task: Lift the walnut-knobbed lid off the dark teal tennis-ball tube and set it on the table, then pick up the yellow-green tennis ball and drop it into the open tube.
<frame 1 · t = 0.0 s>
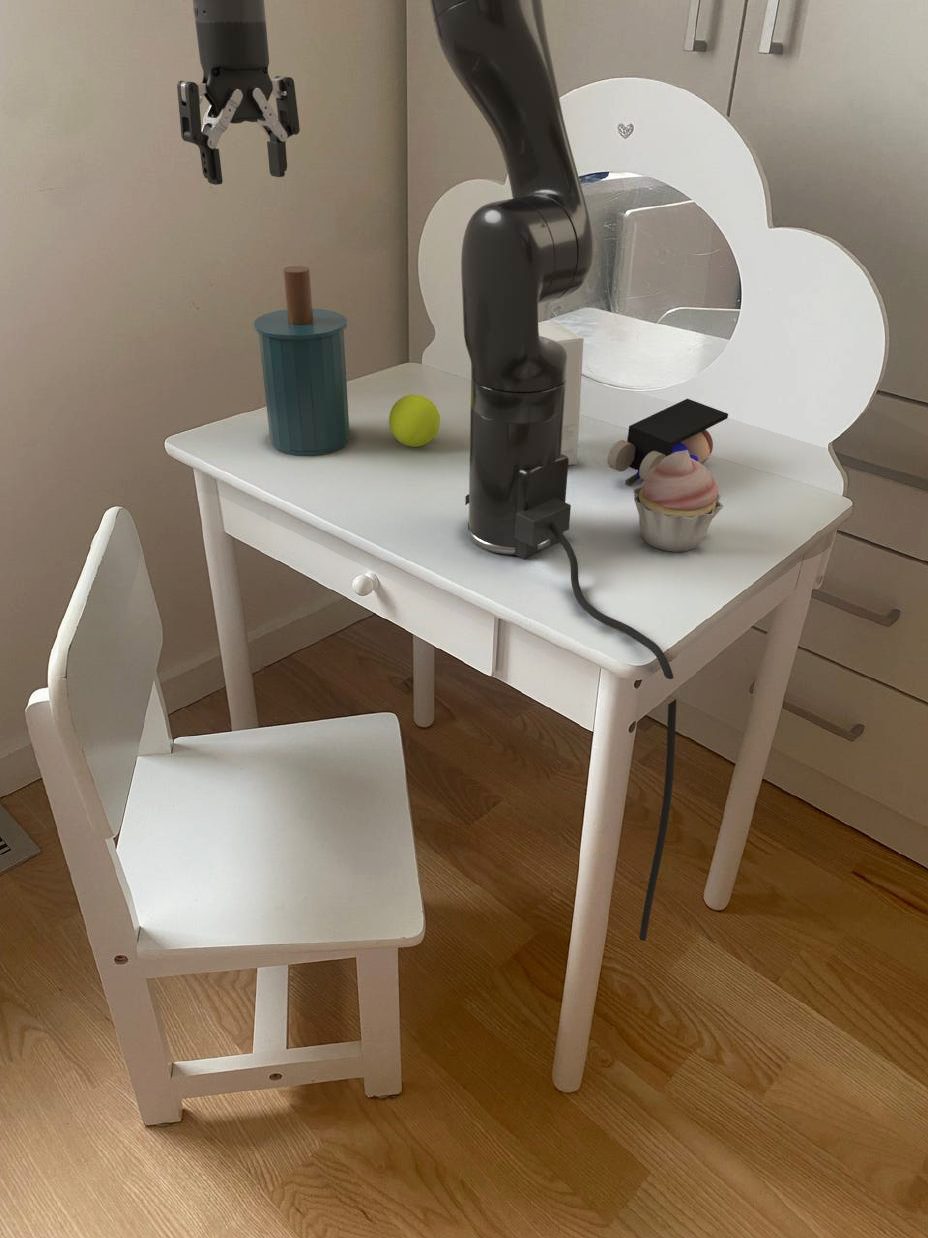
hand: (247, 179, 113), 29 cm above the table, tool pointing down, fingers open, 8 cm apart
tube: (310, 439, 122), on the table
tube lid: (301, 325, 114), point 15 cm above the table, touching tube
cupcake: (671, 540, 102), on the table
figurine character: (663, 477, 115), on the table
cosmetic box: (538, 457, 119), on the table
tennis ball: (414, 420, 120), point 3 cm above the table
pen: (529, 417, 130), on the table
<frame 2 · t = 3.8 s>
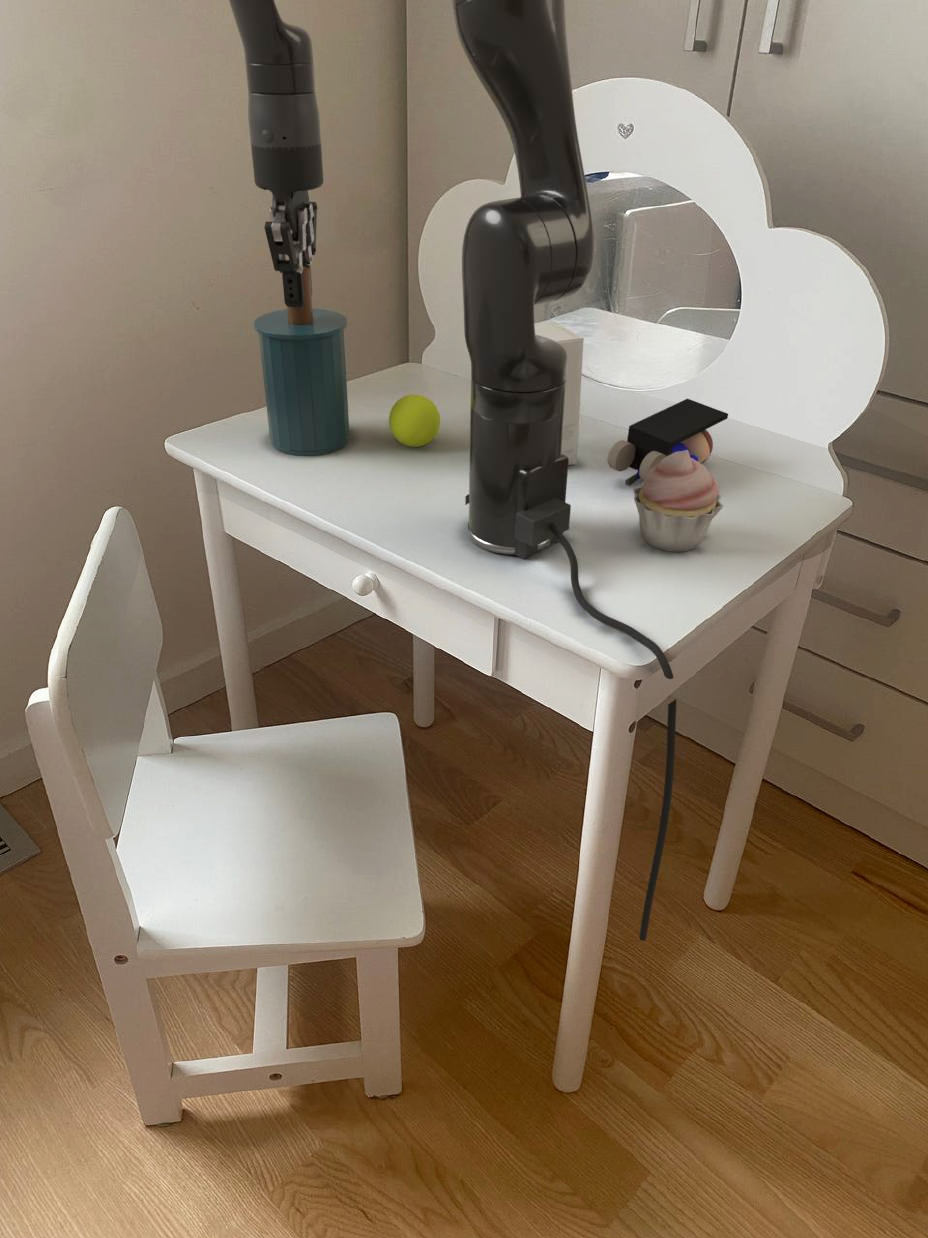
hand: (299, 300, 113), 17 cm above the table, tool pointing down, fingers closed on tube lid, 3 cm apart
tube lid: (301, 325, 114), point 15 cm above the table, touching gripper, tube
everything else where it was.
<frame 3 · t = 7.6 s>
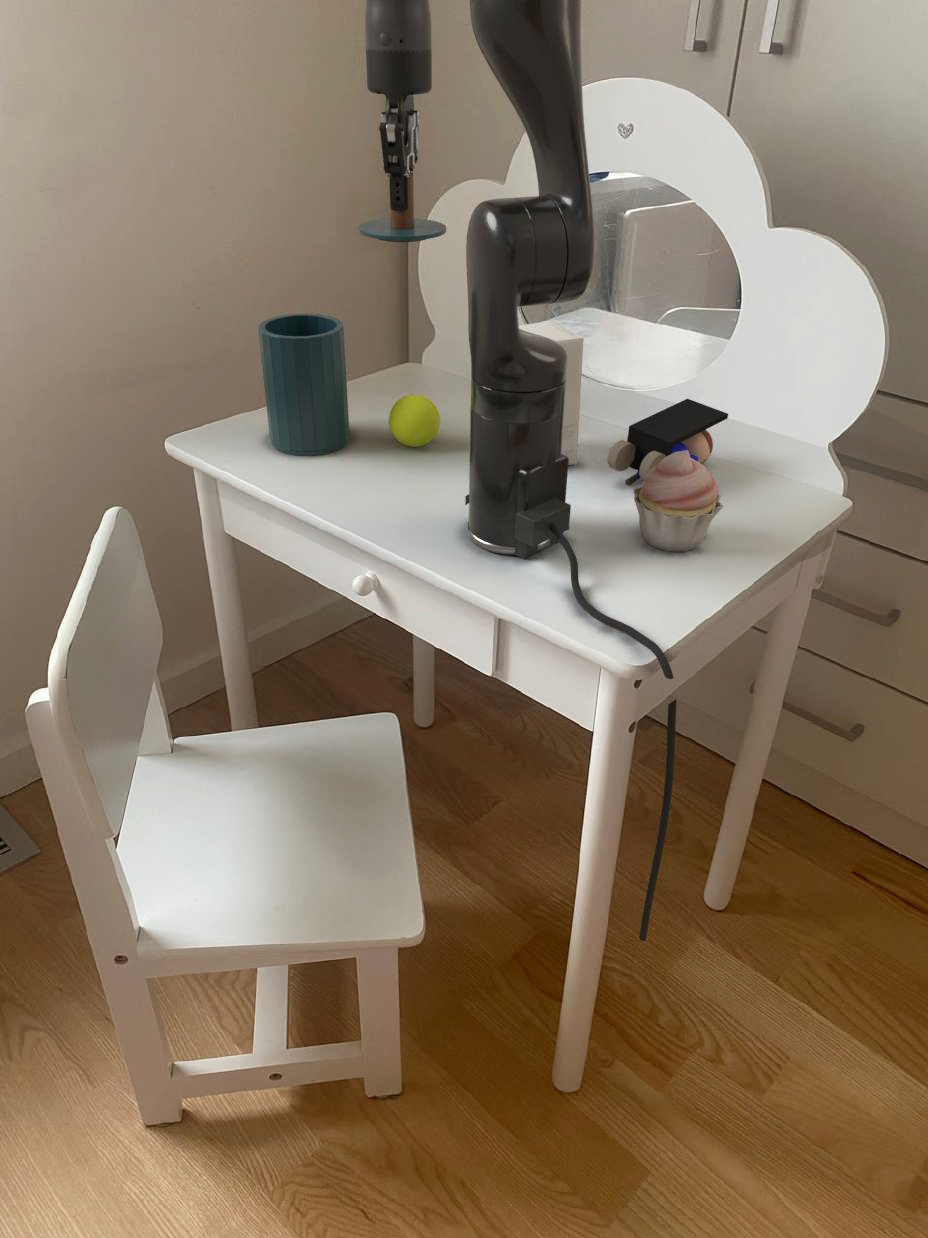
hand: (402, 206, 119), 26 cm above the table, tool pointing down, fingers closed on tube lid, 3 cm apart
tube lid: (402, 230, 120), point 23 cm above the table, touching gripper
everything else where it was.
when the fingers open (3 cm above the table, at t = 11.8 s): tube lid stays where it is, point 1 cm above the table.
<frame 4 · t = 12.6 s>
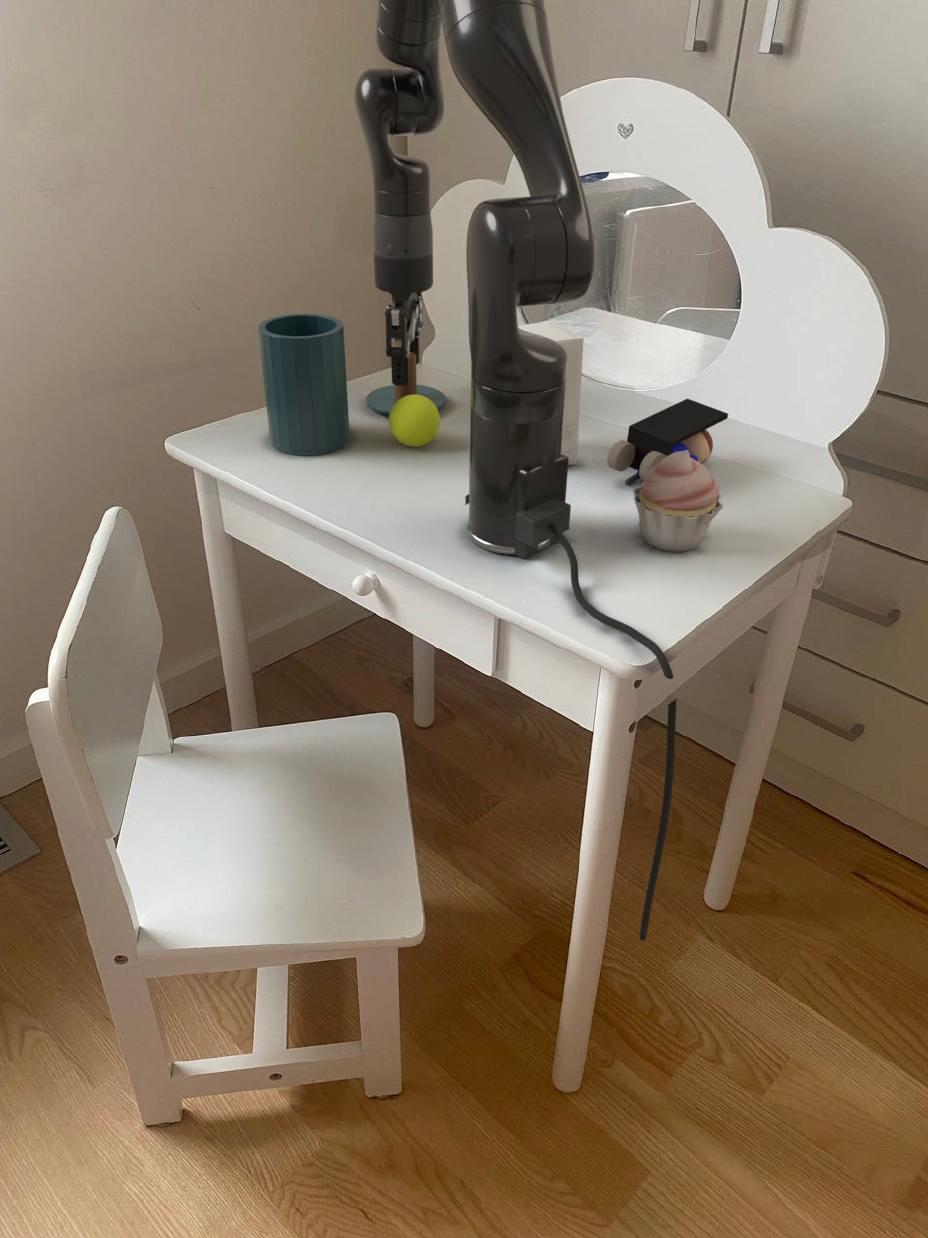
hand: (406, 373, 130), 5 cm above the table, tool pointing down, fingers open, 8 cm apart
tube lid: (406, 401, 133), point 1 cm above the table
everything else where it was.
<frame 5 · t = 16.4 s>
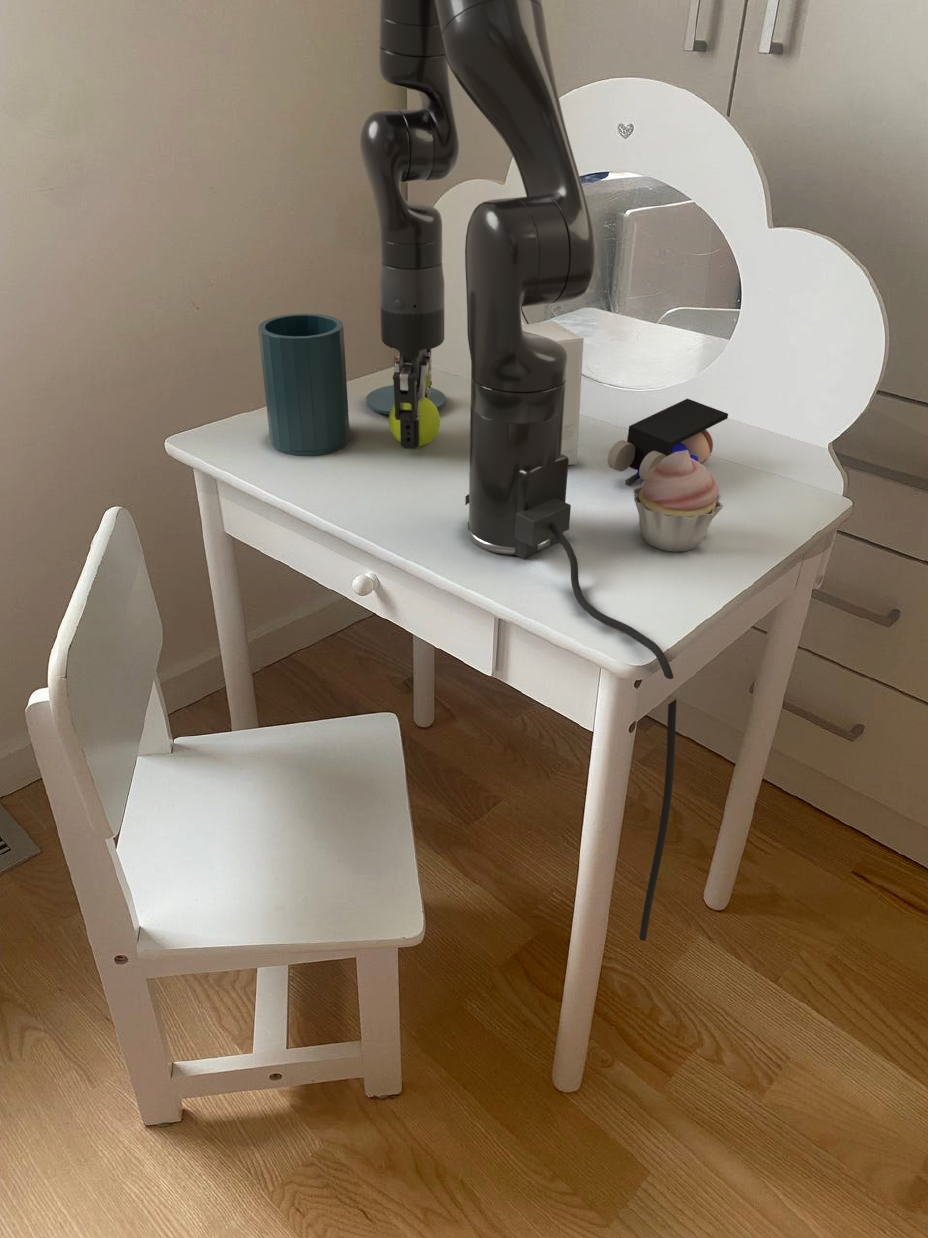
hand: (414, 436, 121), 1 cm above the table, tool pointing down, fingers closed on tennis ball, 6 cm apart
tennis ball: (414, 420, 120), point 3 cm above the table, touching gripper
everything else where it was.
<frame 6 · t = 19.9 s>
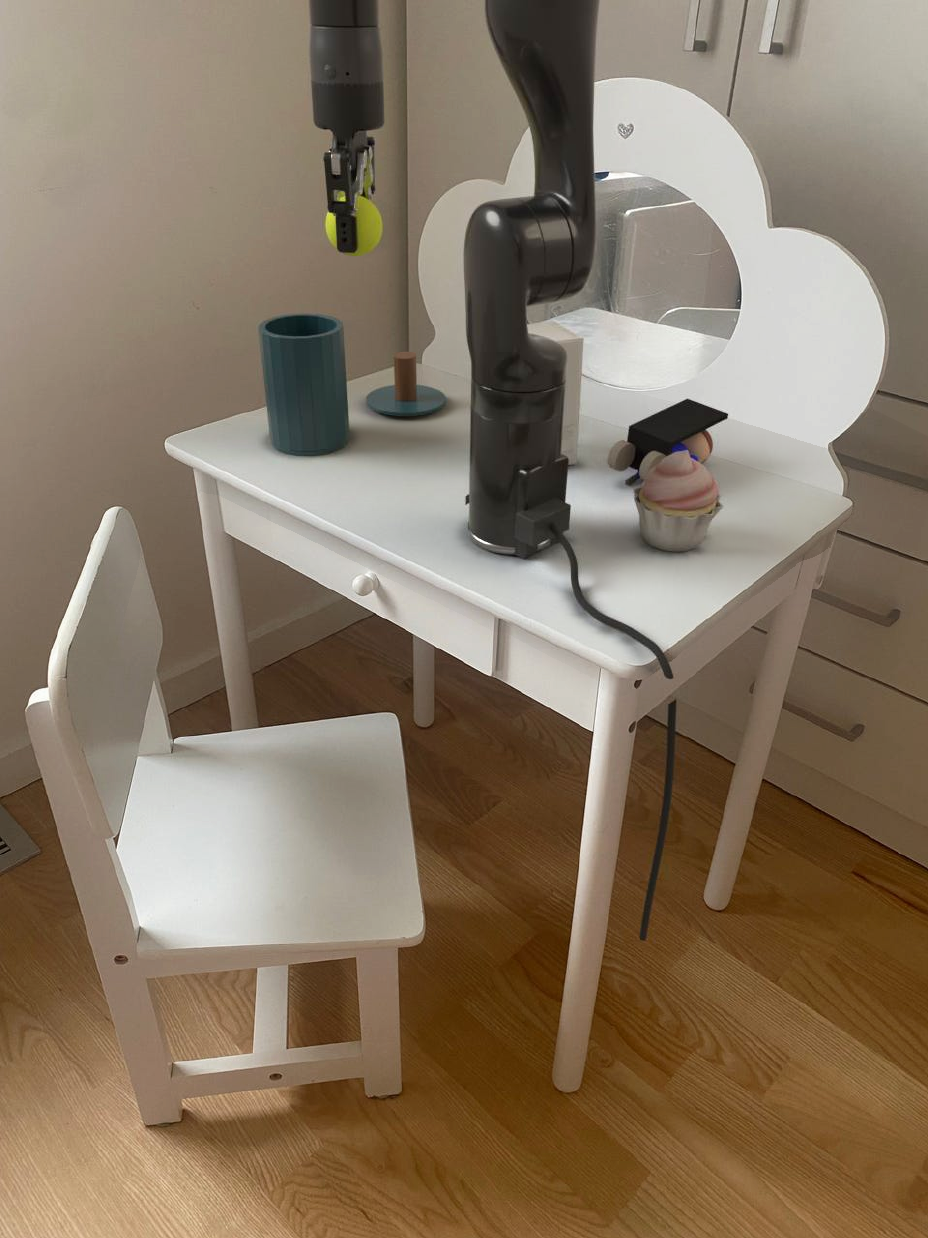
hand: (354, 244, 109), 24 cm above the table, tool pointing down, fingers closed on tennis ball, 6 cm apart
tennis ball: (354, 225, 108), point 26 cm above the table, touching gripper
everything else where it was.
when the fingers open (15 cm above the table, at t = 23.4 s): tennis ball drops 13 cm, resting on tube.
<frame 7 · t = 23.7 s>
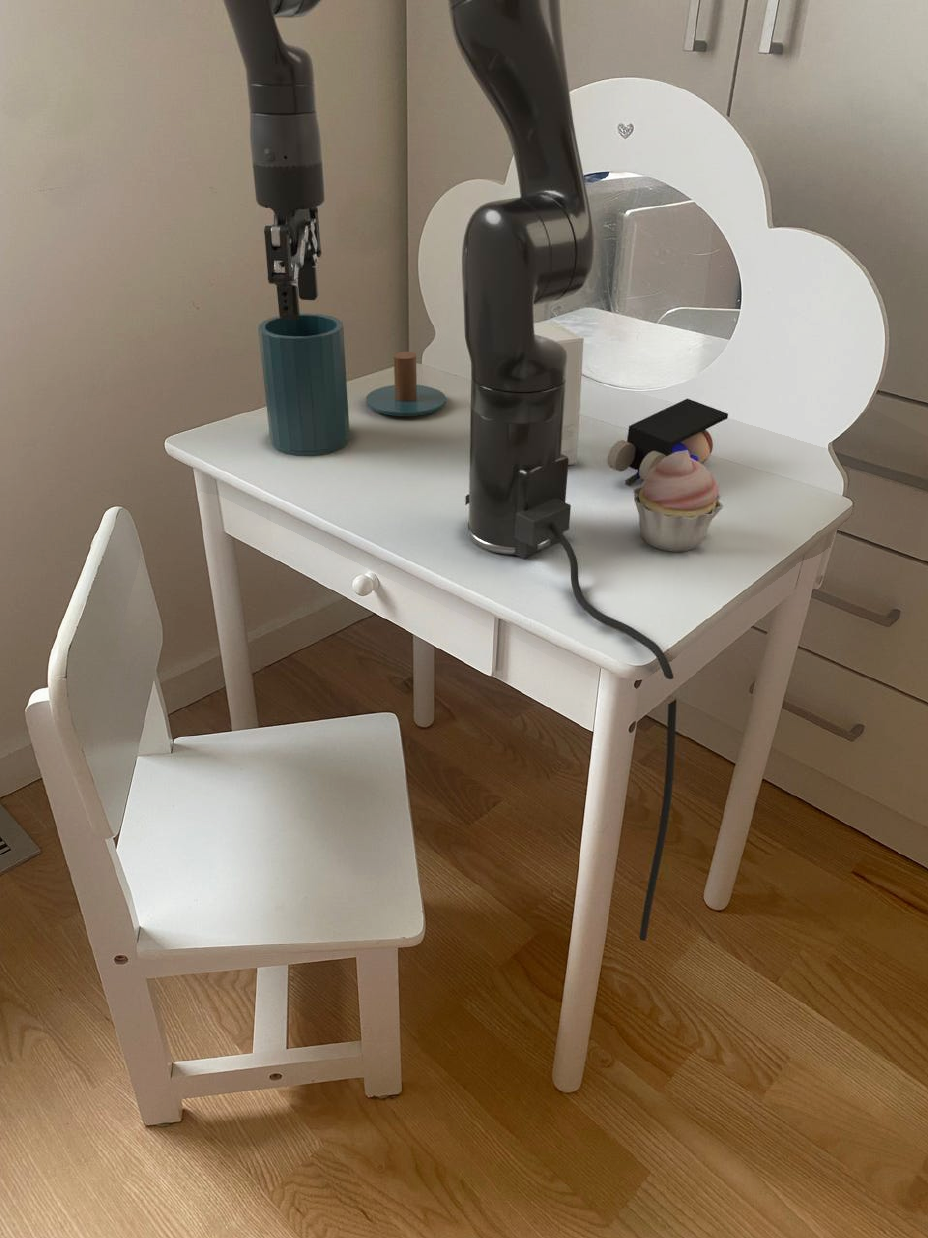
hand: (299, 308, 113), 17 cm above the table, tool pointing down, fingers open, 8 cm apart
tennis ball: (308, 411, 120), point 4 cm above the table, touching tube
everything else where it was.
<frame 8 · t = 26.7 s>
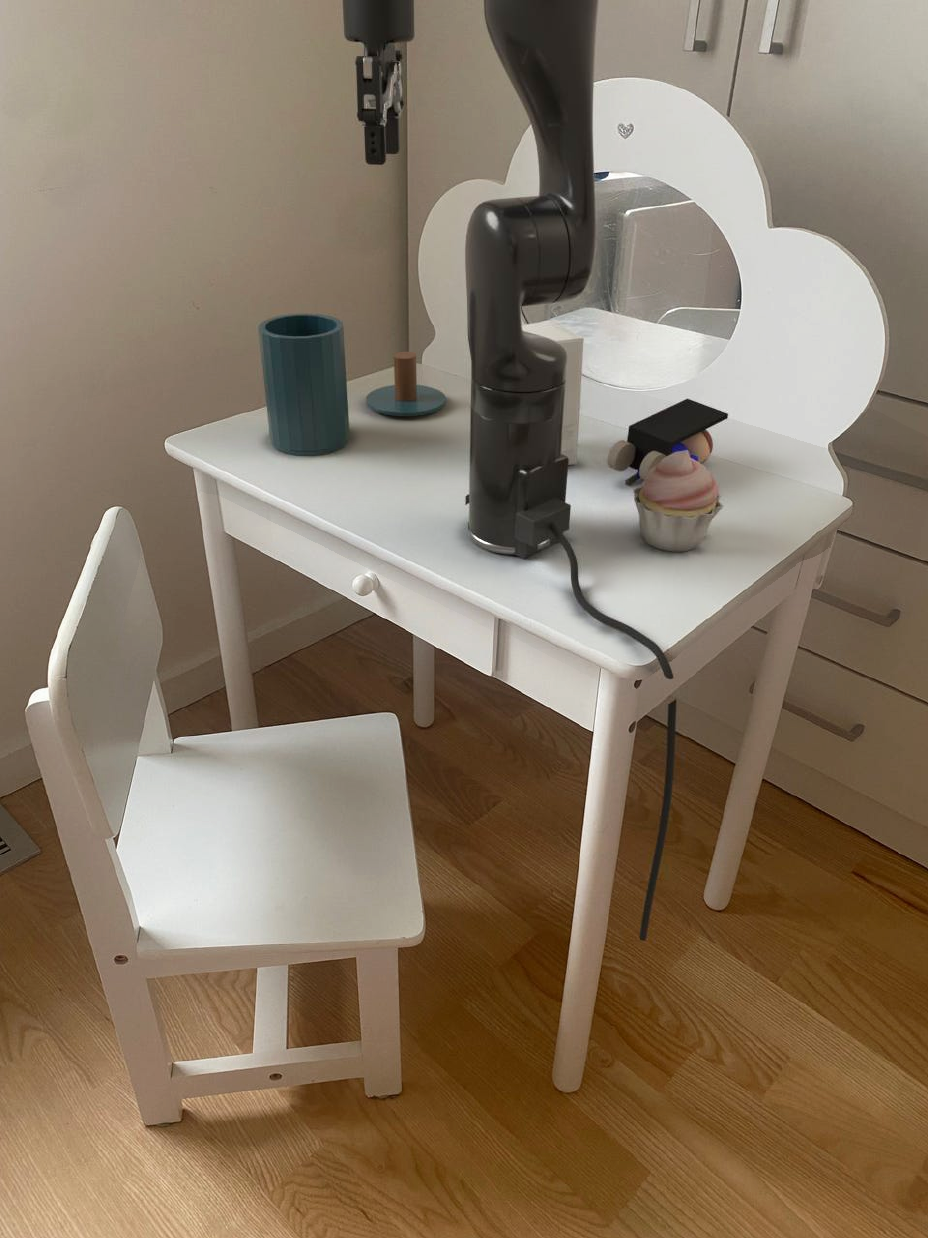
hand: (383, 158, 109), 32 cm above the table, tool pointing down, fingers open, 8 cm apart
nothing on the table moved.
at the end: tube lid inside the target area (0.1 cm from its centre), point 0.6 cm above the table; tube lid tilted 0°; tennis ball 0.1 cm off-centre in the tube, point 3.8 cm above the tube's base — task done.
